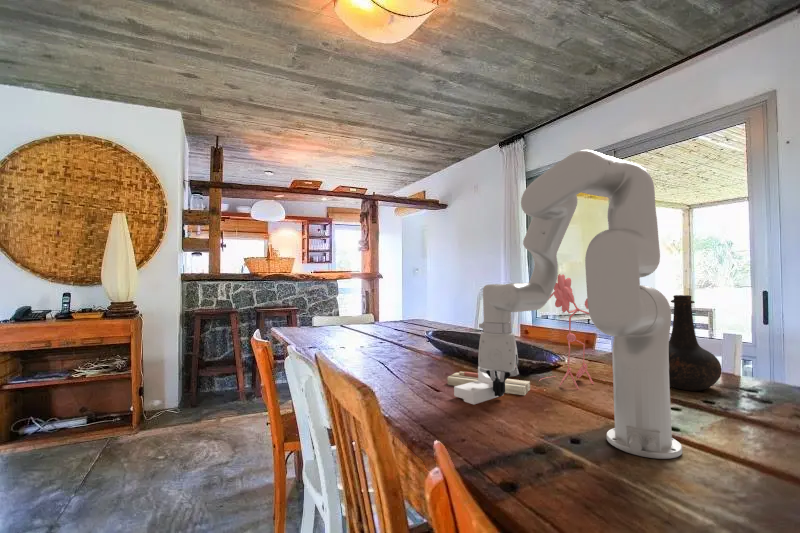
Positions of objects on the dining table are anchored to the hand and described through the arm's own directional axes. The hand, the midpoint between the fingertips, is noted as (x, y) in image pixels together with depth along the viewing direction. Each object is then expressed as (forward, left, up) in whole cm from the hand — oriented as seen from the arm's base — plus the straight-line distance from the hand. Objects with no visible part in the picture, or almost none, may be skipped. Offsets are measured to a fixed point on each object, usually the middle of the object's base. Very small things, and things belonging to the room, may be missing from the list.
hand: (499, 395), depth 105 cm
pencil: (+12, +9, +1) cm, 15 cm away
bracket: (0, +6, -2) cm, 6 cm away
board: (+11, +7, -1) cm, 13 cm away
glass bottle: (+40, -45, -2) cm, 60 cm away
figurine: (+28, -13, -2) cm, 31 cm away
